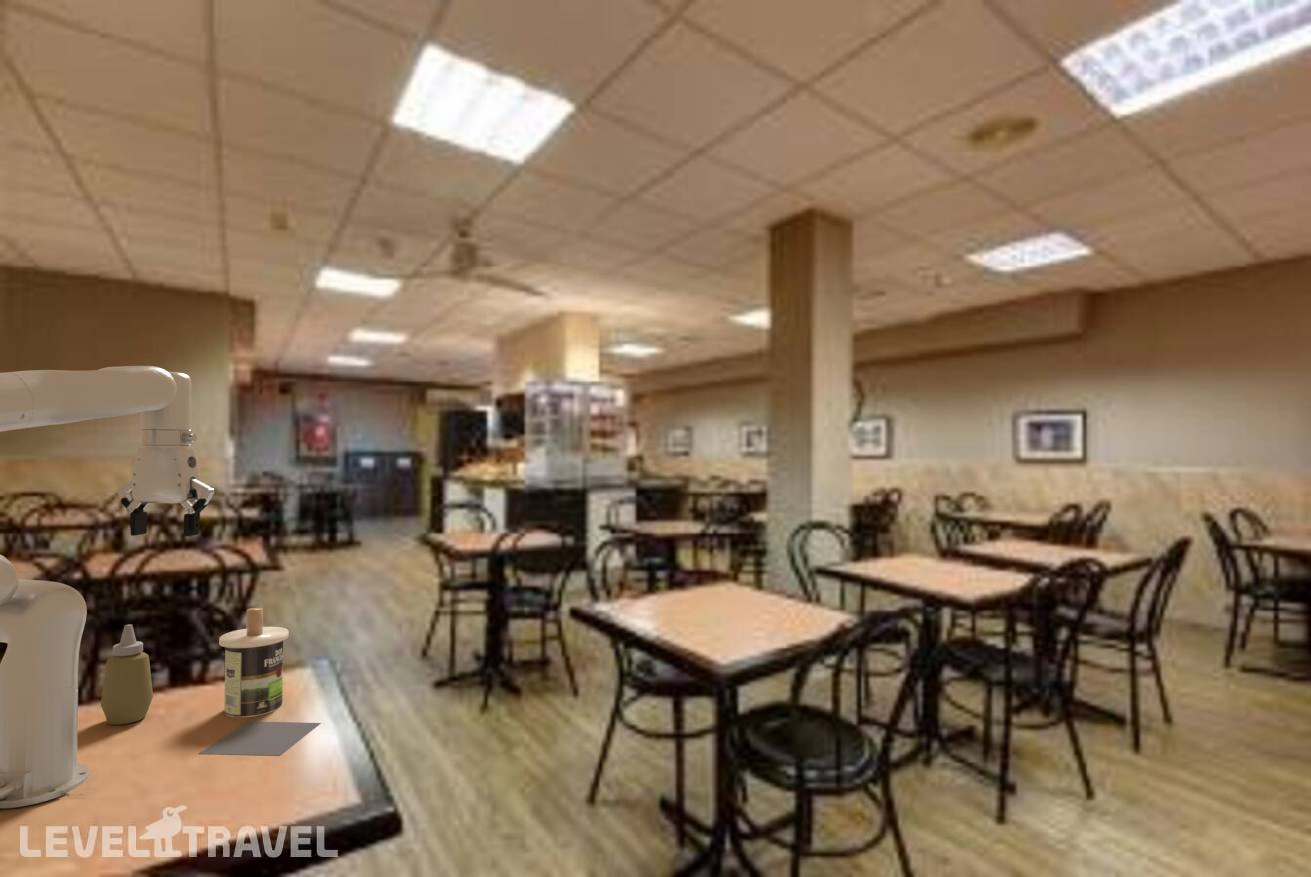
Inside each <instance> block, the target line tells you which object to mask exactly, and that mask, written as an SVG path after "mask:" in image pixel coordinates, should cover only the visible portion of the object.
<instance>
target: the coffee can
mask: <svg viewBox="0 0 1311 877" xmlns="http://www.w3.org/2000/svg"><path fill="white" fill-rule="evenodd" d="M284 641H285V640H283V641H281V642H278V643H275V644H271V645H266V646H260V647H252V648H227V647H224V650H225V652H224V715H226V716H228V717H231V718H250V717H259V716H263V715H266V714H269V713H272V712H275V711H277V710H278V709H280V708H281V707H283V694H284V692H283V687H284V685H283V684H284V682H283V679H284V678H283V677H284V675H283V674H284V671H283V670H284Z"/></svg>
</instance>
